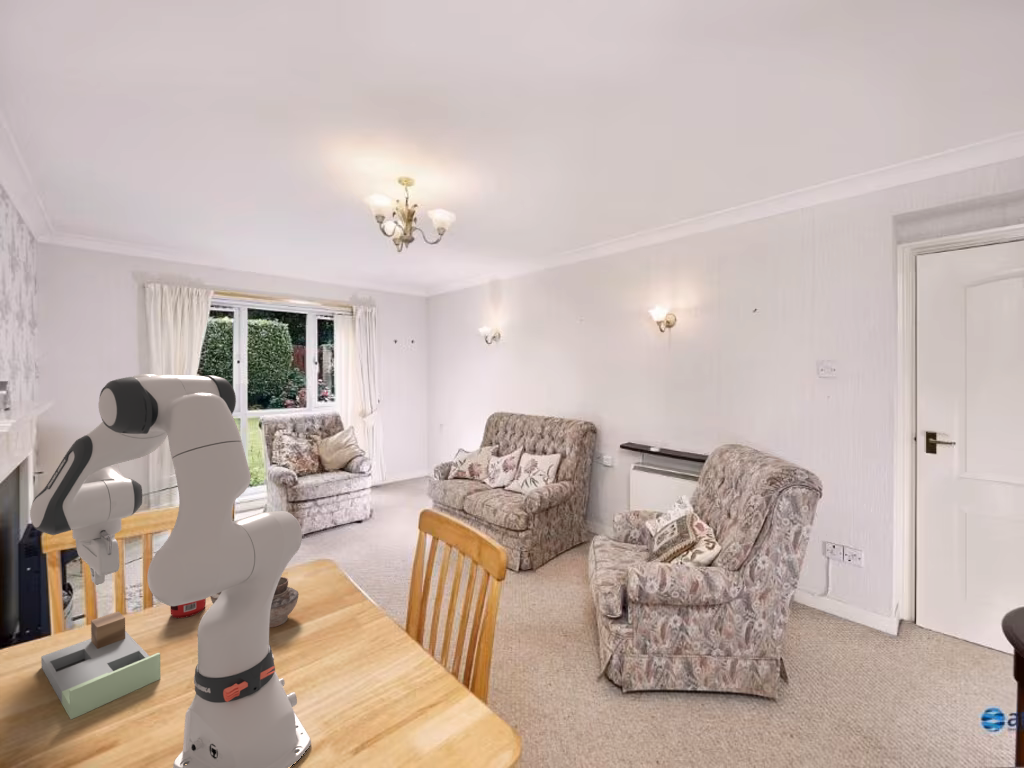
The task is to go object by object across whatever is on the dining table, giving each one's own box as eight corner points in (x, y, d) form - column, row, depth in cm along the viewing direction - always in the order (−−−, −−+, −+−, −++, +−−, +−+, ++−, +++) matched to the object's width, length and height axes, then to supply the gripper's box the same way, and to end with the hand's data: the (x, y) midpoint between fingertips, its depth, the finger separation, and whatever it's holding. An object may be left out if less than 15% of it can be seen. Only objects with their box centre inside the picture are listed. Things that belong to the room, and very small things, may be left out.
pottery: (234, 601, 129) (234, 560, 129) (307, 613, 123) (307, 570, 123) (198, 622, 118) (197, 577, 118) (276, 637, 112) (276, 590, 112)
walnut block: (125, 638, 107) (125, 617, 107) (97, 648, 103) (97, 627, 102) (118, 631, 109) (118, 611, 109) (91, 641, 105) (91, 620, 105)
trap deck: (160, 678, 96) (160, 653, 96) (70, 719, 85) (70, 691, 85) (122, 637, 111) (121, 615, 111) (41, 667, 100) (41, 643, 100)
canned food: (212, 604, 127) (212, 566, 127) (189, 619, 119) (189, 579, 119) (187, 603, 128) (187, 565, 128) (163, 618, 120) (162, 577, 120)
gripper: (127, 532, 106) (128, 589, 107) (102, 515, 118) (103, 567, 118) (92, 540, 101) (92, 600, 102) (69, 521, 113) (70, 575, 113)
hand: (98, 582), depth 110 cm, fingers closed
